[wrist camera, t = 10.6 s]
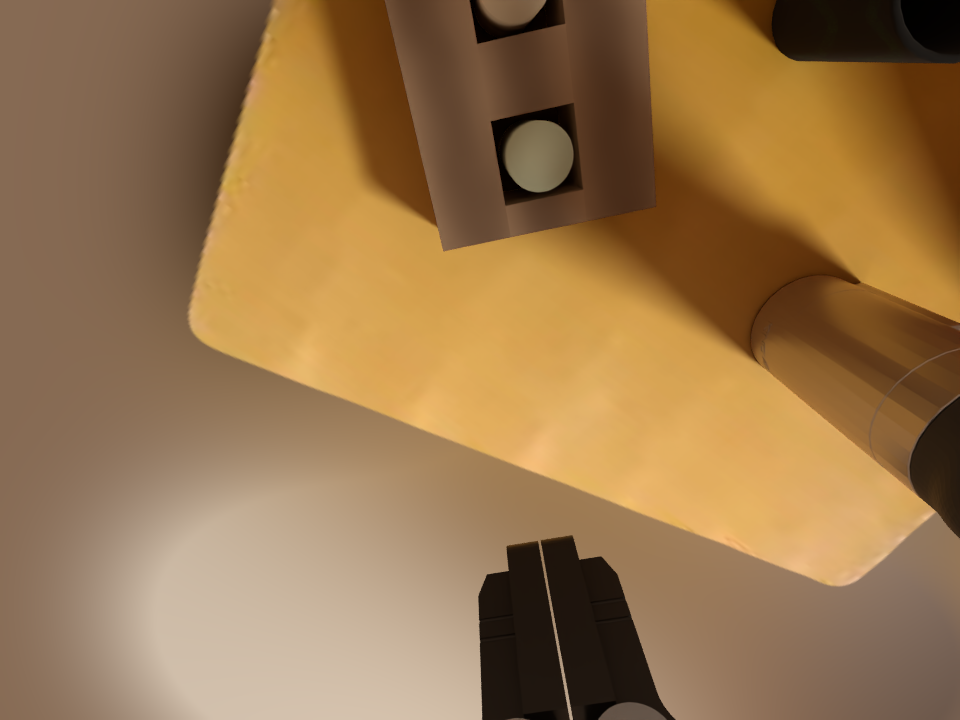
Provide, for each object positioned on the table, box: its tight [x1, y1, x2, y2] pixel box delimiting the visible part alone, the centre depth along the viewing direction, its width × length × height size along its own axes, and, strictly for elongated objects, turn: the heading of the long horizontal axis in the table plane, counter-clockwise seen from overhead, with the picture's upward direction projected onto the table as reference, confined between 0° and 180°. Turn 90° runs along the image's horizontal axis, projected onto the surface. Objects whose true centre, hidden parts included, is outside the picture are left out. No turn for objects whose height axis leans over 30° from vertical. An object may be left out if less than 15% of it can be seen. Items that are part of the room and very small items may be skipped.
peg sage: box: [499, 119, 573, 192], centre depth 34 cm, size 4×4×7 cm
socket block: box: [385, 0, 656, 251], centre depth 32 cm, size 14×18×6 cm
